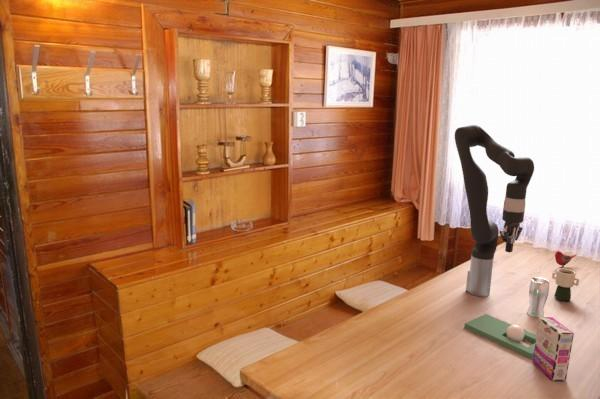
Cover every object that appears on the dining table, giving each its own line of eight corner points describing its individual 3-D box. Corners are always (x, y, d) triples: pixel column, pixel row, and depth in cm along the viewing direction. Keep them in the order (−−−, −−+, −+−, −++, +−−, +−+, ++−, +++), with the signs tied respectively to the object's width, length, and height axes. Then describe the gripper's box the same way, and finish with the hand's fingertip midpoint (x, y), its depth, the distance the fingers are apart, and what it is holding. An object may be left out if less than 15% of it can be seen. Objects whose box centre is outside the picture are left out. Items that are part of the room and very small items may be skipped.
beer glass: (547, 319, 186) (552, 284, 183) (528, 317, 188) (533, 282, 184) (542, 311, 193) (547, 277, 190) (524, 310, 194) (528, 276, 191)
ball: (522, 337, 164) (512, 347, 167) (531, 332, 167) (521, 342, 171) (508, 324, 167) (499, 334, 171) (517, 319, 171) (508, 329, 174)
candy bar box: (567, 381, 146) (575, 333, 142) (552, 381, 146) (559, 333, 142) (546, 361, 157) (552, 316, 153) (531, 361, 157) (538, 316, 153)
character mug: (578, 301, 204) (583, 273, 201) (571, 305, 199) (576, 277, 196) (552, 292, 212) (556, 265, 209) (545, 296, 208) (549, 269, 205)
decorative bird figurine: (549, 269, 241) (552, 250, 239) (572, 264, 249) (575, 246, 246) (554, 271, 239) (557, 252, 236) (577, 266, 246) (580, 248, 244)
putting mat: (464, 328, 178) (464, 323, 178) (485, 318, 186) (485, 313, 186) (530, 359, 158) (531, 353, 158) (551, 346, 166) (552, 341, 166)
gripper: (513, 204, 186) (508, 246, 190) (495, 209, 179) (490, 252, 183) (532, 208, 181) (526, 251, 184) (514, 213, 173) (508, 257, 177)
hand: (508, 251), depth 184 cm, fingers closed
